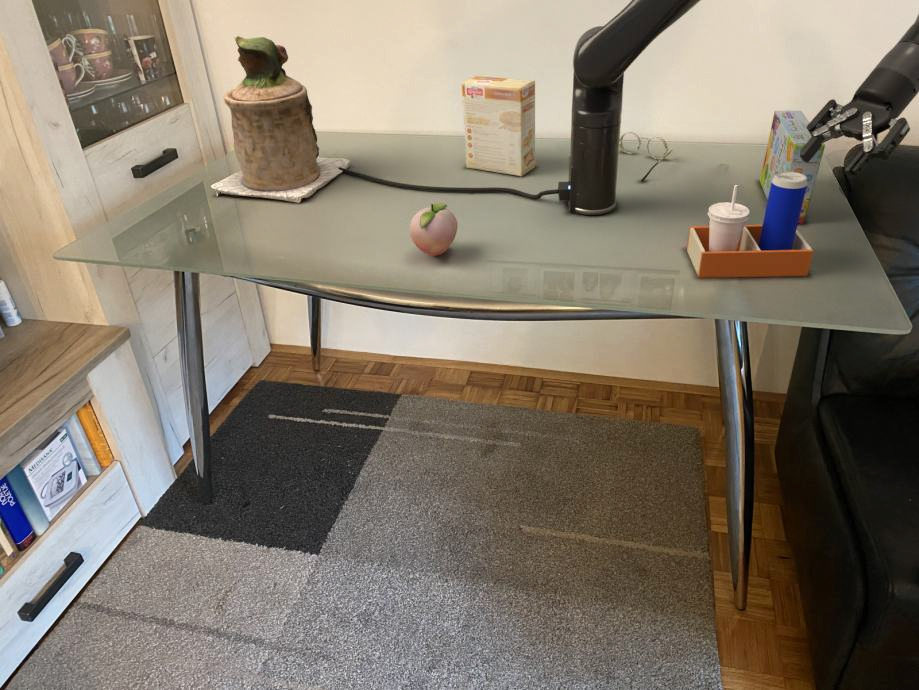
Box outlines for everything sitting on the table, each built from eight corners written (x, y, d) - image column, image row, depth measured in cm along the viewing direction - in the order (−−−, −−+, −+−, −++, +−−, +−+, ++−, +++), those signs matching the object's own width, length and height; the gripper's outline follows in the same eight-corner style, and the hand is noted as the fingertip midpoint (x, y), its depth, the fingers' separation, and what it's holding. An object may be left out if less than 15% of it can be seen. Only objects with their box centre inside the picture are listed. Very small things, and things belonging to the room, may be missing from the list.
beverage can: (789, 257, 117) (809, 172, 109) (787, 270, 113) (808, 184, 105) (756, 252, 119) (774, 169, 111) (753, 266, 115) (771, 180, 107)
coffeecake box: (536, 167, 160) (536, 79, 149) (521, 177, 155) (520, 88, 144) (480, 158, 167) (477, 74, 156) (465, 168, 162) (460, 82, 151)
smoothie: (719, 275, 113) (734, 195, 105) (692, 260, 118) (703, 182, 110) (748, 265, 116) (764, 185, 108) (720, 250, 120) (733, 173, 113)
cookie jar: (304, 205, 149) (272, 47, 131) (209, 197, 156) (167, 47, 138) (353, 165, 168) (332, 23, 150) (267, 159, 175) (236, 23, 157)
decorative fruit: (422, 242, 130) (417, 192, 125) (463, 245, 128) (460, 194, 123) (405, 265, 123) (399, 213, 117) (448, 269, 121) (444, 216, 115)
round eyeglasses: (677, 162, 157) (679, 140, 154) (644, 183, 148) (646, 160, 145) (612, 149, 167) (613, 128, 164) (577, 168, 157) (578, 146, 155)
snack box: (807, 224, 127) (827, 144, 118) (774, 223, 128) (792, 143, 119) (786, 181, 144) (802, 108, 135) (757, 181, 145) (771, 108, 136)
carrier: (698, 277, 113) (702, 253, 111) (686, 249, 122) (689, 226, 119) (807, 276, 112) (813, 251, 109) (787, 247, 120) (792, 223, 117)
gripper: (848, 58, 111) (780, 142, 113) (933, 75, 100) (856, 167, 102) (862, 86, 115) (797, 166, 118) (944, 105, 105) (871, 193, 107)
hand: (824, 167), depth 110 cm, fingers open, 8 cm apart
